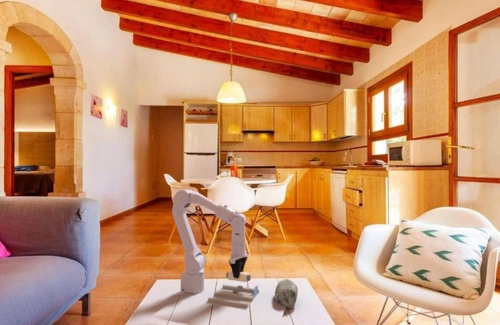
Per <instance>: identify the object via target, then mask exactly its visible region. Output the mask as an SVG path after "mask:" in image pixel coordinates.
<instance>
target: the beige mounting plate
mask: <svg viewBox="0 0 500 325" xmlns="http://www.w3.org/2000/svg"><path fill="white" fill-rule="evenodd" d="M258 294H260V289H259V285H255V286H254V287H253V288H250V287H245V286H244V285H231V284H229V285H228V284H222V288H221V289H217V290H216V291H214V296H212V297H208V298H207V302H206V304H209V305H215V306H219V307H227V308H234V309H239V310H247V309H248V307H250V305H251V304H252V303H253V301H254V300H255V298H256V297H257V296H258Z"/></svg>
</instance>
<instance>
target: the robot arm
mask: <svg viewBox="0 0 500 325" xmlns="http://www.w3.org/2000/svg"><path fill="white" fill-rule="evenodd" d="M172 200H173V201H172V202H173V204H172V209H171V214H172V217H173V220H174V222H175V226H176V228H177V232H178V234H179V237H180V240H181V243H182V246H183V249H184V252H185V253H184V262H185V265H184V269H185V270H184V271H183V272H182V273H181V277H180V290H179V291H180V293H178V294H179V296H181V295H182V294H185V293H190V294H199V293H203V292H204V291H205V268H204V267H205V266H206V264H207V259H206V255H204V254H203V252H202V250H201V249H200V248H199V247H198V245H197V242H196V238H195V236H194V233H193V231H192V228H191V224H190V222H189V218H188V216H187V214H186V212H187V210H188V209H189V207H190V206H191V205H194V204H196V205H197V204H199V205H200V206H202V207H204V208H206V209H208V210H210V211H211V212H214V214H215V217H216V218H218V219H220V220H222V221H223V222H225V223H227V224H230V227H231V253H230V258H229V259H228V265H230V269H231V271H232V272H233V277H234V278H239V276H240V272H244V269H245V266H246V263H247V260H248V259H249V258H248V257H249V254H248V253H247V249H246V226H245V225H246V224H247V217H246V216H245V214H243V213H242V212H239V211H238V210H234V209H232V208H230V207H229V205H228V204H223V203H222V204H219V205H218V204H217V203H216V202H215V201H213V200H211V199H210V198H207V197H206V196H205V195H203V194H202V193H199V192H198V191H195V190H193V189H191V188H187V189H181V190H178V191H177V192H176V193H175V194H174V196H173V197H172Z"/></svg>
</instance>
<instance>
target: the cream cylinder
mask: <svg viewBox="0 0 500 325" xmlns="http://www.w3.org/2000/svg"><path fill="white" fill-rule="evenodd" d="M225 278H226V279H227V280H228V281H235V282H240V283H241V282H243V283H248V282H250V281H251V279H252V275H251V274H250V273H249V272H244V271H243V272H240V276H239V278H234V277H233V272H232V270H229V271H227V272H226V273H225Z"/></svg>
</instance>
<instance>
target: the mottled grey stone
mask: <svg viewBox="0 0 500 325" xmlns="http://www.w3.org/2000/svg"><path fill="white" fill-rule="evenodd" d="M298 292H299V290H298V286H297V284H296V283H295V282H294V281H292V279H291V280H290V279H288V278H284V279H281V280H280V281H279V282H278V283H277V285H276V287H275V290H274V298H275V301H276V302H277V303H278V304H279V305H281V306H284V307H285V309H288V310H289V309H292V308H294V306H295V305H296V302H297V298H298Z"/></svg>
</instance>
